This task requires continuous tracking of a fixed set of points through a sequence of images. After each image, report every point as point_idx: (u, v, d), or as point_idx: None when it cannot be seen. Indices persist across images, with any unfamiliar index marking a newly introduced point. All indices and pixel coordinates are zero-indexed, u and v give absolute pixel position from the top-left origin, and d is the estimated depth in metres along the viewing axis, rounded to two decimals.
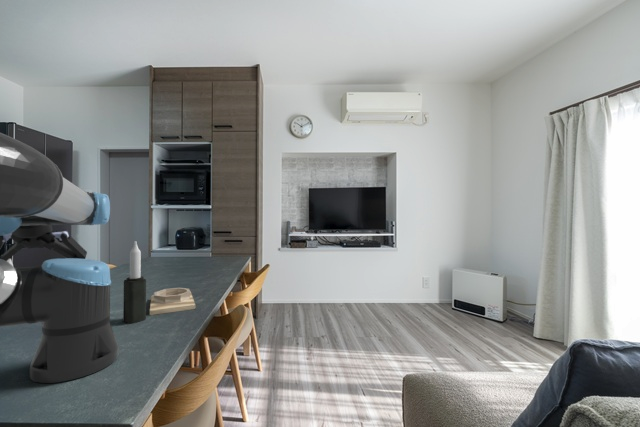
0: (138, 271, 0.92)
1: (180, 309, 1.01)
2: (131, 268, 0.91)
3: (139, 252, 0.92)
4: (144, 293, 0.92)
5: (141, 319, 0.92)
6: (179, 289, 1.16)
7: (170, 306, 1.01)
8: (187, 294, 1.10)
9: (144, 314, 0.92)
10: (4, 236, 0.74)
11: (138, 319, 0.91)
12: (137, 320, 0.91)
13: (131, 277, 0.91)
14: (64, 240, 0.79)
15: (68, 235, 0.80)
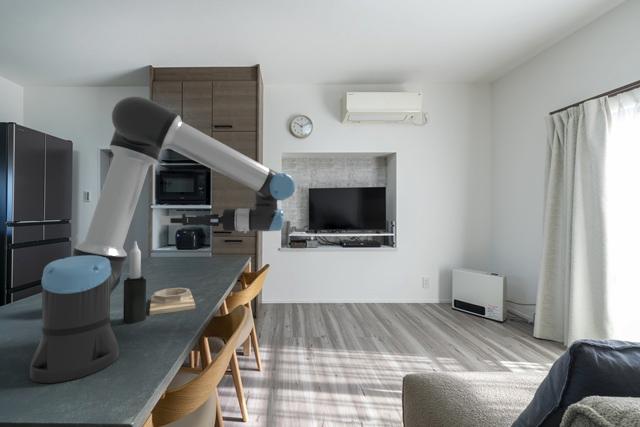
0: (138, 271, 0.92)
1: (180, 309, 1.01)
2: (131, 268, 0.91)
3: (139, 252, 0.92)
4: (144, 293, 0.92)
5: (141, 319, 0.92)
6: (179, 289, 1.16)
7: (170, 306, 1.01)
8: (187, 294, 1.10)
9: (144, 314, 0.92)
10: None
11: (138, 319, 0.91)
12: (137, 320, 0.91)
13: (131, 277, 0.91)
14: (211, 216, 0.90)
15: (212, 221, 0.89)
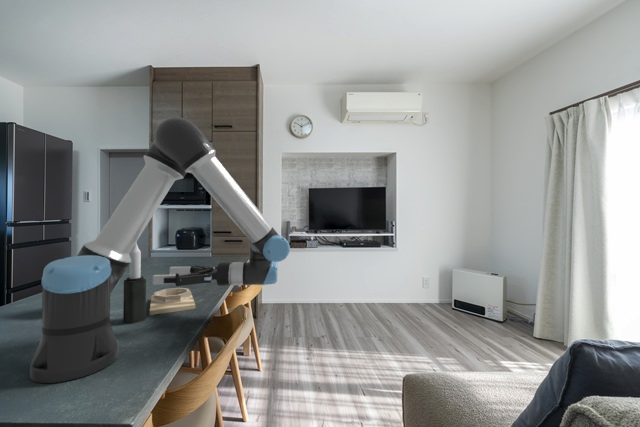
0: (138, 271, 0.92)
1: (180, 309, 1.01)
2: (131, 268, 0.91)
3: (139, 252, 0.92)
4: (144, 293, 0.92)
5: (141, 319, 0.92)
6: (179, 289, 1.16)
7: (170, 306, 1.01)
8: (187, 294, 1.10)
9: (144, 314, 0.92)
10: (216, 269, 1.01)
11: (138, 319, 0.91)
12: (137, 320, 0.91)
13: (131, 277, 0.91)
14: (204, 274, 0.90)
15: (205, 279, 0.89)
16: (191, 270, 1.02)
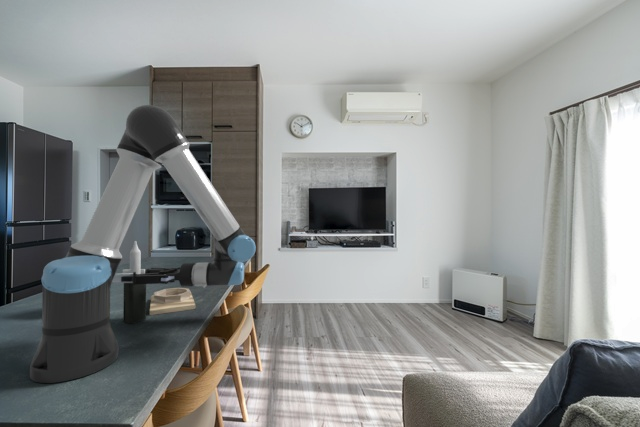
0: (138, 271, 0.92)
1: (180, 309, 1.01)
2: (131, 268, 0.91)
3: (139, 252, 0.92)
4: (144, 293, 0.92)
5: (141, 319, 0.92)
6: (179, 289, 1.16)
7: (170, 306, 1.01)
8: (187, 294, 1.10)
9: (144, 314, 0.92)
10: None
11: (138, 319, 0.91)
12: (137, 320, 0.91)
13: None
14: (162, 275, 0.88)
15: (162, 280, 0.87)
16: (146, 273, 0.96)
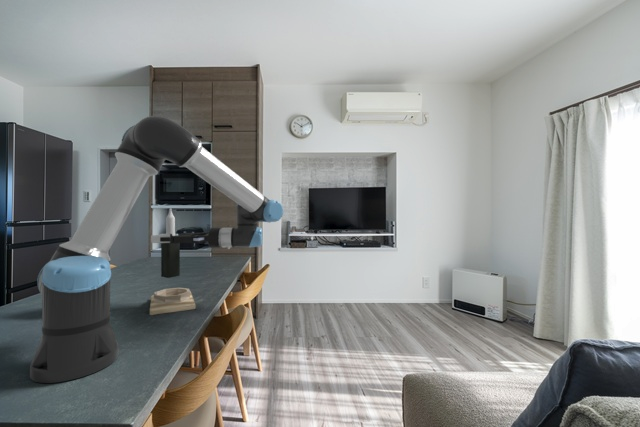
0: (173, 234, 1.07)
1: (180, 309, 1.01)
2: (167, 231, 1.07)
3: (174, 218, 1.08)
4: (178, 253, 1.08)
5: (176, 275, 1.07)
6: (179, 289, 1.16)
7: (170, 306, 1.01)
8: (187, 294, 1.10)
9: (178, 271, 1.08)
10: None
11: (174, 274, 1.06)
12: (173, 275, 1.06)
13: None
14: (194, 236, 1.04)
15: (194, 240, 1.03)
16: None
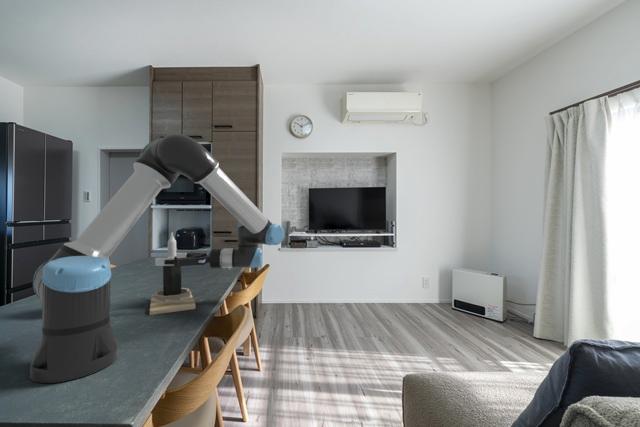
0: None
1: (180, 309, 1.01)
2: (169, 255, 1.09)
3: (175, 242, 1.11)
4: (180, 276, 1.11)
5: None
6: None
7: (170, 306, 1.01)
8: (187, 294, 1.10)
9: (180, 293, 1.11)
10: None
11: None
12: None
13: None
14: (198, 258, 1.06)
15: (199, 262, 1.06)
16: (187, 256, 1.18)
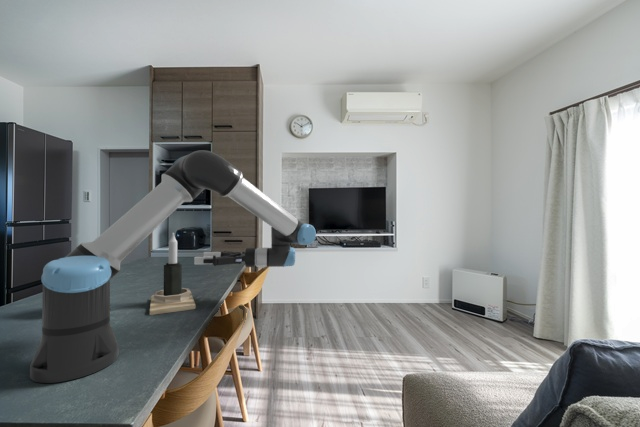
0: (175, 257, 1.10)
1: (180, 309, 1.01)
2: (170, 255, 1.09)
3: (176, 242, 1.11)
4: (180, 276, 1.11)
5: None
6: None
7: (170, 306, 1.01)
8: (187, 294, 1.10)
9: (180, 293, 1.11)
10: (242, 254, 1.20)
11: None
12: None
13: (170, 262, 1.09)
14: (236, 256, 1.08)
15: (237, 261, 1.08)
16: (221, 255, 1.20)
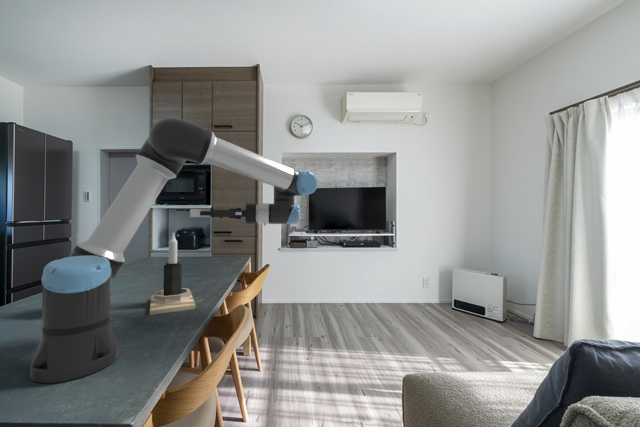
0: (175, 257, 1.10)
1: (180, 309, 1.01)
2: (170, 255, 1.09)
3: (176, 242, 1.11)
4: (180, 276, 1.11)
5: None
6: None
7: (170, 306, 1.01)
8: (187, 294, 1.10)
9: (180, 293, 1.11)
10: None
11: None
12: None
13: (170, 262, 1.09)
14: (235, 210, 1.00)
15: (237, 214, 0.99)
16: None
